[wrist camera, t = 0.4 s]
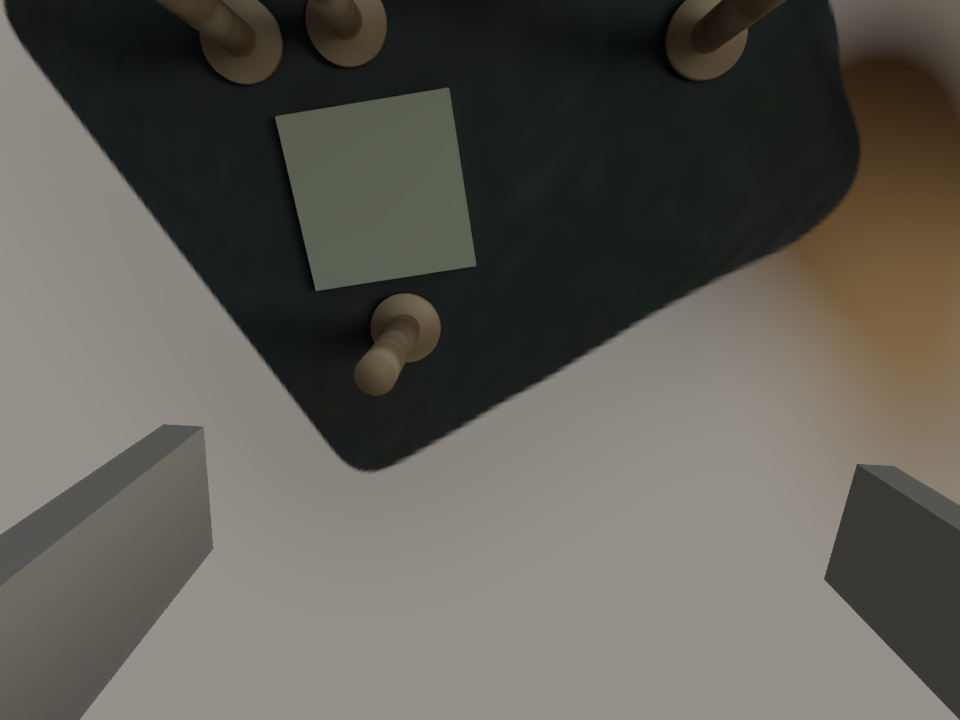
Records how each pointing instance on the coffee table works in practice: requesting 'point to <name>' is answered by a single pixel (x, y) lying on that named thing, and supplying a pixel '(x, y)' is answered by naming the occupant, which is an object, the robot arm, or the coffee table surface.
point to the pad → (378, 188)
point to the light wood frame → (259, 42)
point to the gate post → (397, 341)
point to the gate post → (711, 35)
